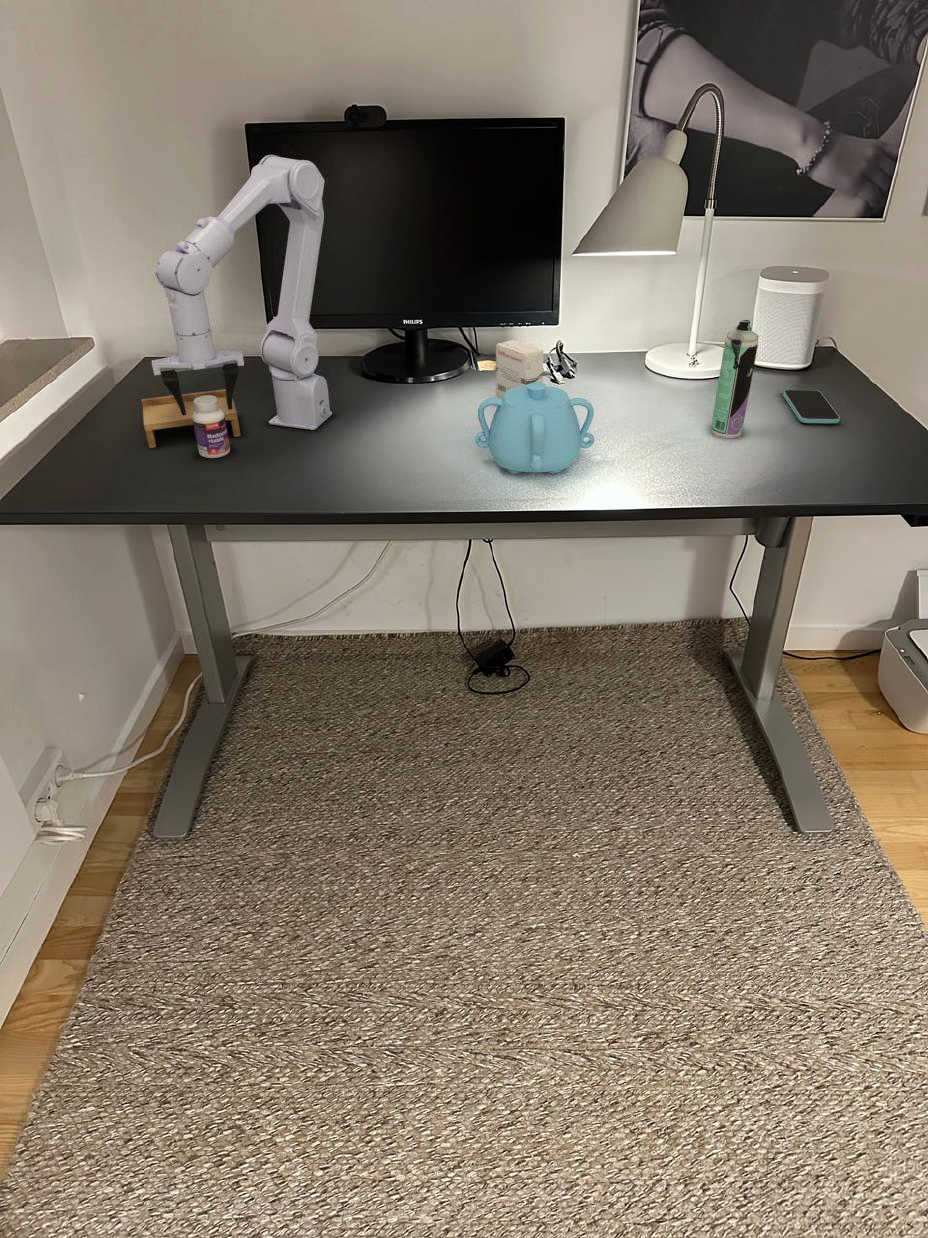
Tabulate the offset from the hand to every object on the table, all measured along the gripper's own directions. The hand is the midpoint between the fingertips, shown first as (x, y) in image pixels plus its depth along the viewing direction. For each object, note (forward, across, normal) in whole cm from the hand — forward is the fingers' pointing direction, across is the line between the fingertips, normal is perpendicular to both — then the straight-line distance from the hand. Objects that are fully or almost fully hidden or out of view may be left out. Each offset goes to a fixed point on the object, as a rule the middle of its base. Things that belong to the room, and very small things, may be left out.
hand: (207, 410), depth 154 cm
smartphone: (+8, +109, -17) cm, 111 cm away
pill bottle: (+8, 0, 0) cm, 8 cm away
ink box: (+8, +57, +2) cm, 58 cm away
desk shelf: (+8, -3, +10) cm, 13 cm away
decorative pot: (+8, +52, -21) cm, 56 cm away
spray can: (+8, +89, -21) cm, 92 cm away
